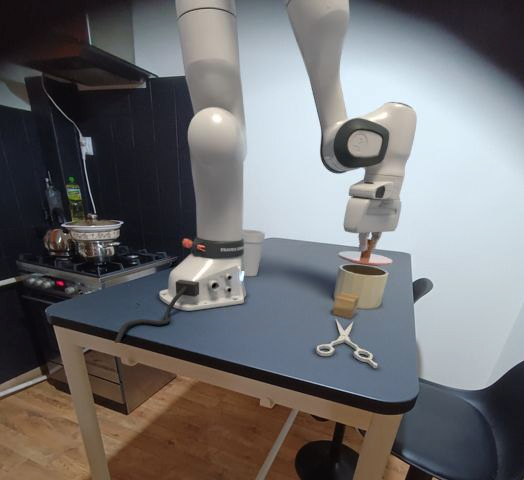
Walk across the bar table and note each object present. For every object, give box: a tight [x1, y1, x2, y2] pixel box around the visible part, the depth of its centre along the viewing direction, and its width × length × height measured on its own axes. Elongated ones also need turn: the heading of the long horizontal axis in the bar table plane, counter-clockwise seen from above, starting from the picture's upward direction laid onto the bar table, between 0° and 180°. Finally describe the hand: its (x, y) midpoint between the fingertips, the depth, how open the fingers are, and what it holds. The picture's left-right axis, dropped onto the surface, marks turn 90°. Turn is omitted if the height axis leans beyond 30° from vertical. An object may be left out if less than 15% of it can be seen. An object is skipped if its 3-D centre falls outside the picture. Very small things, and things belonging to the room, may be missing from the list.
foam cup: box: [242, 229, 266, 277], centre depth 101 cm, size 10×9×13 cm
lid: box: [337, 237, 394, 267], centre depth 81 cm, size 14×14×6 cm
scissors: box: [315, 319, 378, 369], centre depth 64 cm, size 11×1×20 cm
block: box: [332, 293, 359, 320], centre depth 76 cm, size 4×4×4 cm
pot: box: [333, 263, 390, 310], centre depth 85 cm, size 13×13×8 cm
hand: (366, 250), depth 81 cm, fingers closed on lid, 2 cm apart
